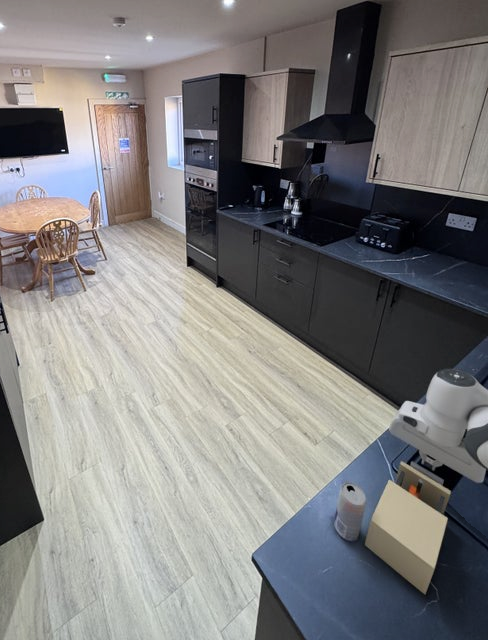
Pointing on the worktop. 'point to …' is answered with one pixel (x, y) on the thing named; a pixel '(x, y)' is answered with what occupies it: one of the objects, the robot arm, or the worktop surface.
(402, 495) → the tan cardboard carton
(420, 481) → the orange stamp with handle
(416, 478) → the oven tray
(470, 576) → the worktop surface
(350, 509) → the energy drink
